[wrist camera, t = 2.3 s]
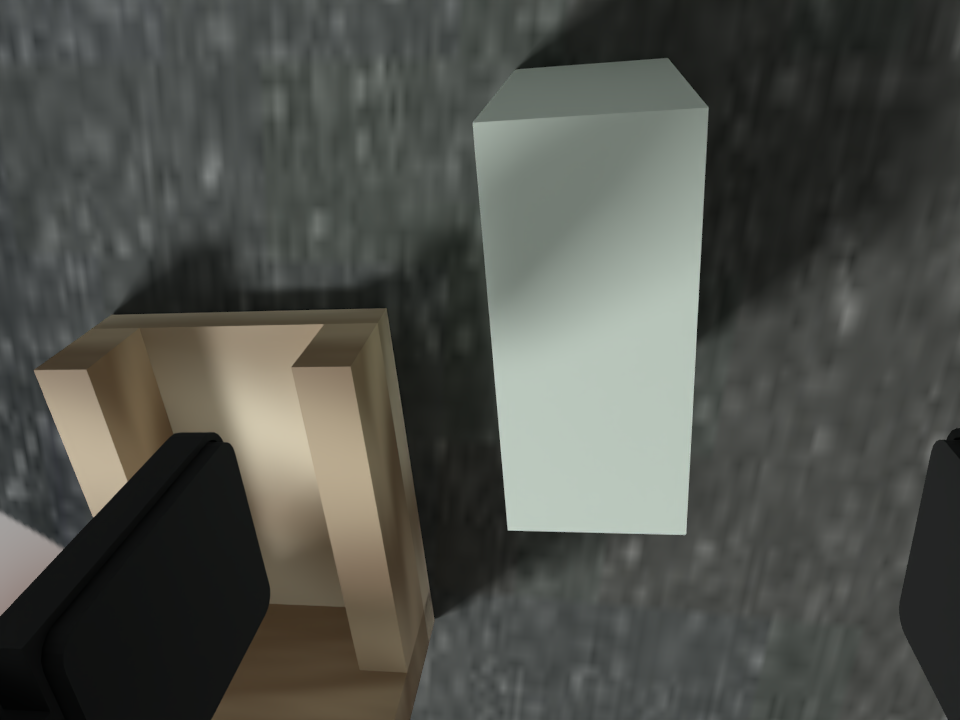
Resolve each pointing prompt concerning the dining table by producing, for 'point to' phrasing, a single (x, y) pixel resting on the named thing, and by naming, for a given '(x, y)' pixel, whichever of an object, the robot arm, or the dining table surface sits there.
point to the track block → (277, 485)
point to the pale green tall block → (594, 291)
